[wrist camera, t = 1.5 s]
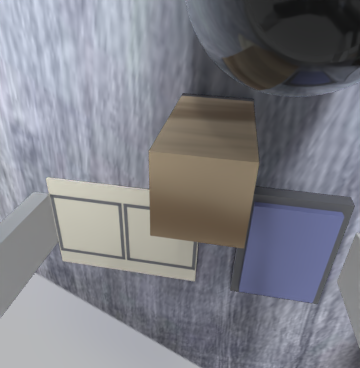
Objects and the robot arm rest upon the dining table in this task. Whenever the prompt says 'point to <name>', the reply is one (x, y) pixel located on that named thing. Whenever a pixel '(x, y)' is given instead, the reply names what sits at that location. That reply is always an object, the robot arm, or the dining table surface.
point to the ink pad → (290, 243)
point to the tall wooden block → (204, 171)
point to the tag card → (115, 230)
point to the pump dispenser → (282, 43)
